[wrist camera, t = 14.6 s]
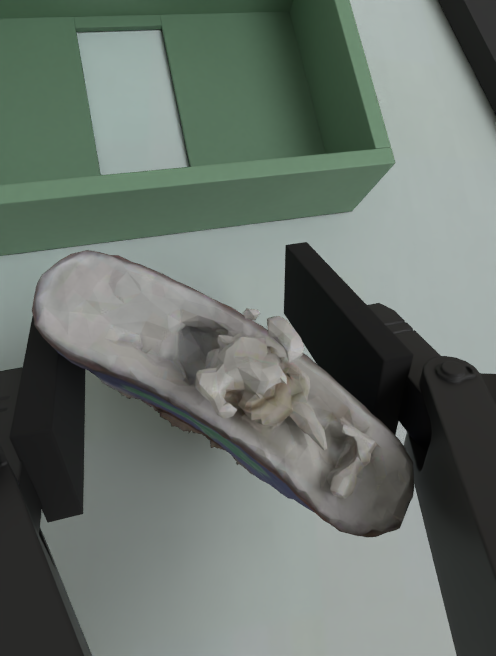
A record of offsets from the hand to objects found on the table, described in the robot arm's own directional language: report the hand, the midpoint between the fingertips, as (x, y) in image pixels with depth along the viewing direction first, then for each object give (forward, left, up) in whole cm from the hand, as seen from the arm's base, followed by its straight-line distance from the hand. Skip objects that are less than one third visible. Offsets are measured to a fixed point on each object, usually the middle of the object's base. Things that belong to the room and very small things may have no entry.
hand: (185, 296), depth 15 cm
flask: (0, -4, -3) cm, 5 cm away
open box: (0, +12, -7) cm, 14 cm away
